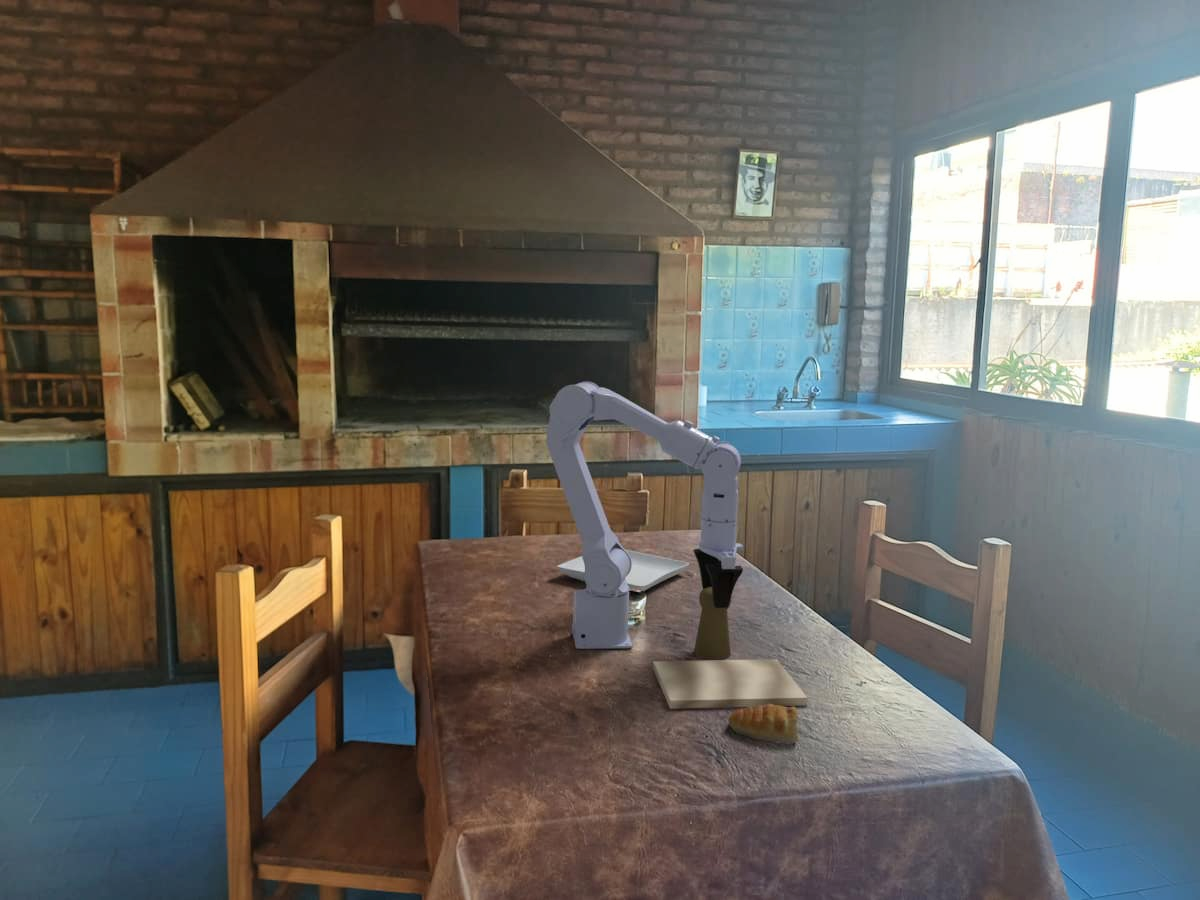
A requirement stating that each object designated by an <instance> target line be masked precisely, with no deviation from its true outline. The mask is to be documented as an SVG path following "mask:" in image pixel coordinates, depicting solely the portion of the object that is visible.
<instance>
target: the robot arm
mask: <svg viewBox="0 0 1200 900" xmlns="http://www.w3.org/2000/svg"><path fill="white" fill-rule="evenodd" d="M549 413H550V414H549V420H548V427H547V431H546V437H545V442H546V446H547V450H548V452H549V455H550V457H551V461H552V464H553V465H554V468H555V472H556V474H557V476H558V480H559V482H560V485H561V487H562V490H563V493H564V496H565V498H566V499H565V500H566V502H567V504H568V507H569V510H570V512H571V514H572V517H573V520H574V522H575V526H576V529H577V531H578V535H579V536H580V539H581V543H582V544H581V545H582V546H581V556H582V558H583V561H584V564H585V572H584V579H585V582H584V583H585V585H586V588H584V589H577V590H576V589H575V590H574V592H573V606H572V607H573V608H572V609H573V613H572V622H571V633H572V636H573V642H574V647H575V648H576V649H579V650H582V649H583V650H588V649H589V650H590V649H592V650H595V649H597V650H599V649H632V648H633V647H634V646H633V645H634V644H633V643H632V639H631V637H630V634H629V607H630V606H629V604H630V603H629V602H630V592H629V586H628V585H627V583H626V580H625V577H626V576H627V575H628V574H629V572H630V570H631V567H632V561H631V557H630V555H629V553H628V552H627V551H626V550H627V549H625V548H624V547H623V546H622V545H621V543H620V541H619V540H620V539H619V537H618V536H617V535H616V534H615V532H614V531H612V529H611V527H610V524H609V522H608V519H607V517H606V514H605V511H604V509H603V505H602V503H601V500H600V498H599V497H600V496H599V494H598V491H597V489H596V487H595V484H594V481H593V478H592V475H591V472H590V470H589V467H588V464H587V461H586V459H585V457H584V453H583V451H582V449H581V445H580V441H581V439H582V437H583V435H584V433H585V431H586V429H587V428H588V425H590V423H591V422H592V421H604V420H615V421H617V422H619V423H621V424H624V425H626V426H628V427H630V428H632V429H635V430H636V431H639V432H641V433H642V434H644V435H647V436H649V437H651V438H653V439H655V440H657V441H658V443H659V445H660V448H661V451H662V452H663V453H665V454H667V455H669V456H671V457H672V458H674V459H676V460H678V461H680V462H682V463H683V464H685V465H687V466H689V467H691V468H693V469H695V470H701V473H702V474H703V476H704V482H703V483H704V484H703V485H704V486H703V490H702V495H701V497H702V500H701V501H702V502H701V522H700V523H701V524H700V541H699V543H698V548H694V549H693V554H694V556H695V559H696V561H697V564H698V569H699V573H700V579H701V586H702V587H701V588H702V590H703V589H705V588H707V587H712V594H713V602H714V606H715V608H728V606H729V603H730V599H731V600H732V595H733V591H734V588H735V586H736V584H737V583H738V580H739V578H740V576H741V575H742V574H743V572H744V567H742V565H736V560H737V559H736V555H737V551H743V550H744V549H743V548H744V546H743V544H741V543H740V542H739V543H737V529H738V528H737V526H738V512H739V511H738V510H739V509H738V507H739V491H738V488H739V478H738V477H739V475H738V474H739V472H740V469H741V464H742V457H741V455H740V452H739V451H738V449H737V448H736V447H735V446H733V445H732V444H731V443H730V442H729V441H720V437H718V436H716V435H713V437H712V436H710V435H708V434H706V433H704V432H702V431H701V430H699V429H696V428H695V427H694V423H693V422H691V421H690V420H688V419H687V420H685V422H683V421H682V420H678V419H676V420H674V421H672V422H671V421H670V422H667V421H665V420H663V419H661V418H660V417H658V416H656V414H653V413H651V412H650V411H648V410H646V409H645V408H642V407H641V406H639V405H638V404H636V403H634V402H632V401H630V400H629V399H627V398H626V397H624V396H622V395H621V394H618V393H616V392H615V391H613V390H611V389H609V388H606V387H602V386H598V384H596V383H595V382H592V381H582V382H578V383H576V384H569V385H565V386H564V387H562V388H561V389H559V391H558V392H557V393H556V395H555V397H554V399H553V400H552V401H551V403H550V404H549ZM728 609H729V608H728Z"/></svg>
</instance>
